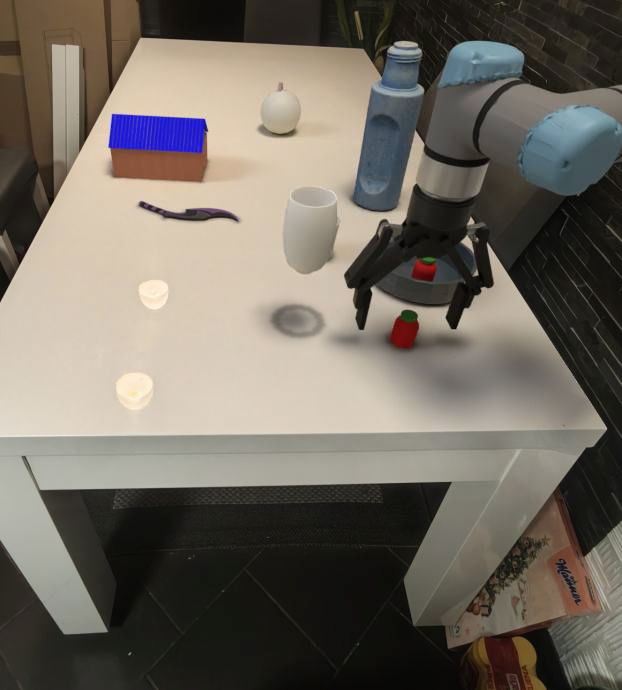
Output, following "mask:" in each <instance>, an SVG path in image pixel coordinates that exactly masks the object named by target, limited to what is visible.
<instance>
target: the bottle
mask: <svg viewBox="0 0 622 690" xmlns="http://www.w3.org/2000/svg"><path fill="white" fill-rule="evenodd" d="M422 57H423V51H422V49H421V48H419V44H418V43H417V42H414V41H407V40H401V41H400V40H399V41H395V42H394V43H393V45H392V46H389V48H388V49H387V51H386V62H385V66H384V69H383V73H382V77H381V79H380V80H376V81H374V82H373V83H372V84H371V88H370V94H369V98H368V106H367V108H366V109H367V111H366V117H365V122H364V130H363V135H362V142H361V148H360V154H359V159H358V165H357V173H356V178H355V183H354V184H355V185H354V189H353V195H352V199H353V202H354V203H356V204H357V205H358V206H359V207H362V208H364V209H366V210H369V211H377V212H384V211H390V210H393V209H395V208H396V207H397V206H398V205H399V202H400V197H401V194H402V189H403V185H404V180H405V175H406V172H407V168H408V164H409V160H410V155H411V151H412V147H413V142H414V139H415V138H414V137H415V133H416V130H417V126H418V123H419V122H418V121H419V117H420V112H421V107H422V104H423V99H424V96H425V88H424V87H423V86H422V85H421V84H419V83H418V81H419V72H420V71H419V67H420V64H421V60H422Z"/></svg>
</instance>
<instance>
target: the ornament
mask: <svg viewBox="0 0 622 690" xmlns="http://www.w3.org/2000/svg"><path fill="white" fill-rule="evenodd" d="M301 116H302V107H301V103H300V99H299V98H298V96H296V94H294V93H293V92H291V91H289V90H286V89H284V82H282V81H278V85H277V90H272V91H271V92H269V93H268V94H267V95H266V96H265V97H264V98H263V100H262V102H261V107H260V118H261V122H262V124H263V126H264V128H265V129H266V130H268V131H269V132H271V133H273V134H278V135H280V134H281V135H282V134H287V133H289V132H292V131H293V130H294V129H295V128H296V127H297V125H298V124H299V122H300V120H301Z"/></svg>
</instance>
